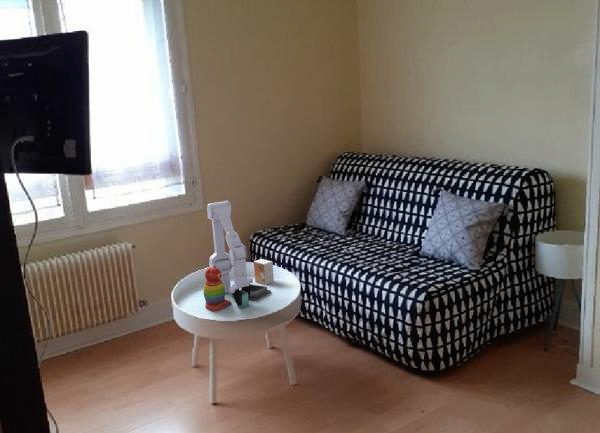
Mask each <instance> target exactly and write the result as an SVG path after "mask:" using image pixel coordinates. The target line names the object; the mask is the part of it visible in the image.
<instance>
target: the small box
mask: <svg viewBox="0 0 600 433" xmlns="http://www.w3.org/2000/svg"><path fill="white" fill-rule="evenodd" d="M253 269H254V270H253V271H254V281H255V283H258V284H262V285H263V286H266V285H269V284H272V283H275V281H274V280H275V279H274V275H275V274H274V262H273V261H272V260H266V259H264V258H260V259H257V260H254V261H253Z"/></svg>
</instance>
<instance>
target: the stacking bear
mask: <svg viewBox="0 0 600 433" xmlns="http://www.w3.org/2000/svg"><path fill="white" fill-rule="evenodd" d="M204 272H205V273H204V277H205V279H206V281H205V283H204V285H203V297H204V300H205V304H204V305H205V309H207V310H208V311H211V312H220V311H222V310H223V308H225V307H229V306H231V305H232V302H231V300H229V299H226V294H225V288H224V285H223V283H222V280H221V279H220V278H221V276H222V273H221V272H220V270H219V269H218V268H216V266H213V267H212V268H210V267H208V268H207V269H206V270H205V271H204Z"/></svg>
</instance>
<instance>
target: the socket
mask: <svg viewBox="0 0 600 433" xmlns="http://www.w3.org/2000/svg"><path fill="white" fill-rule="evenodd" d="M252 285H253V287H252V290H251V293H250V298H249V301H253V302H257V301H260V300H261V299H262V298H264V297H265V296H267V295H269V294H271V293H272V290H270V289H268V287H267V286H266V285H257V284H252ZM239 290H240V291H242V289H241V288H240V289H239Z"/></svg>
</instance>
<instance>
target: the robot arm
mask: <svg viewBox="0 0 600 433" xmlns="http://www.w3.org/2000/svg"><path fill="white" fill-rule="evenodd" d="M206 214H207V219H208V220H211V228H212V237H213V248H214V249H213V250H214V252H213V254H212V255H210V256H209V263H208V264H209V265H208V266H209V267H208V268H212V267H213V266H216V268H218V269H219V270H220V272H221V273H222V276H221V278H220V279H221V280H222V283H223V285H224V288H225V295H226V294H228V293H229V294H231V295H232V297H233V299H234V301H235V304H236V307H237V306H241V305H242V293H243V291H246V292H248V301H249V302H250V300H249V298H250V293H251V290H252V287H253V285H254V284H252V283H253V282H254V279H253V278H252V277H248V273H247V261H246V259H247V258H248V250H247V247H246V246H245V244H244V243H242V240H241V239H240V236H239V233H238V232H237V231H235V230H234V226H233V223H232V220H231V216H232V215H231V214H232V205H231V202H230V200H225V201H218V202H217V201H216V202H212V203H210V202H209V203H208V204H207V205H206ZM224 231H225V234H224ZM225 241H226V243H227V246H228V247H227V248H228V249H229V253H228V252H226V245H225ZM231 271H233V272H232V273H233V284H231V283H232V282H231V276H230V273H231ZM240 289H242V291H240Z"/></svg>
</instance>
